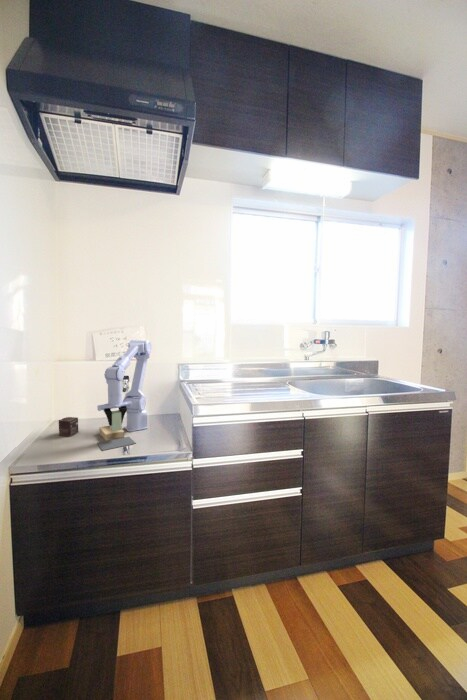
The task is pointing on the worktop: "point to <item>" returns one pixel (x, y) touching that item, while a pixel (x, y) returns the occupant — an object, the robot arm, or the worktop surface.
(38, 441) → the worktop surface
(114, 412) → the block
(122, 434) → the step
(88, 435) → the worktop surface
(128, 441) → the mat
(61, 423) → the box
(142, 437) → the worktop surface
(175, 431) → the worktop surface
